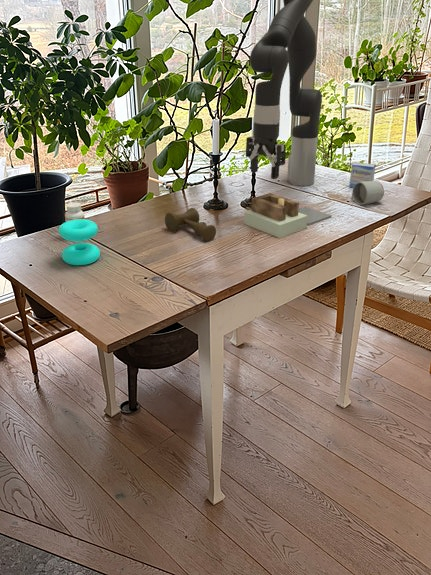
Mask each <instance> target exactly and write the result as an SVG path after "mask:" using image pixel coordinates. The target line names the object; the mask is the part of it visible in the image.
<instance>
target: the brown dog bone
mask: <svg viewBox="0 0 431 575" xmlns="http://www.w3.org/2000/svg"><path fill="white" fill-rule="evenodd" d="M164 224H165V226H166V228H167V230H168V231H170V232H171V233H175V232H177V231H178V229H179V228H180V227H181V226H184V225H187V226H188V227H189V228H190V229H192V230H193V233H194V235H195V236H196V237H201V239H202V241H203V242H206V243H207V242H211V241H213V240H214V238H215V237H216V235H217V228H216V227H215V225H213V224H208V225H207V223H206V222H204V221H200V214H199V212H198V210H197V209H196V208H194V207H190V208H188V209H187V210H186V211H185V212H184V213H180V214H177V213H174V212H169V211H168V212H166V213H165V217H164Z"/></svg>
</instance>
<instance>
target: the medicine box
mask: <svg viewBox="0 0 431 575" xmlns="http://www.w3.org/2000/svg"><path fill="white" fill-rule="evenodd" d="M375 173H376V164H375V163H364V162H356V161H354V162H353V163H352V164H351V169H350V177H349V186H348V187H349V188H350V189H353V187H354V185H355V184H356V183H357V182H363V181H375Z"/></svg>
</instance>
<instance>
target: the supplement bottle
mask: <svg viewBox="0 0 431 575" xmlns="http://www.w3.org/2000/svg"><path fill="white" fill-rule="evenodd" d="M64 214H65V215H64V217H65V222H67V221H70V220H76V219H85V212H84V211H83V210H82V205H81V203H80V202H70V203H67V204H66V212H64Z"/></svg>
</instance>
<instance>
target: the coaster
mask: <svg viewBox="0 0 431 575" xmlns="http://www.w3.org/2000/svg"><path fill="white" fill-rule="evenodd" d="M298 212H299V213H302V214H305V215H307V216H308V218H307V226H310V225H314V224H316V223H320V222H322V221H324V220H328V219H330V218H332V214H328V213H327V212H323V211H320V210H317V209H314V208H311V207H309V206H303V207H299V211H298Z"/></svg>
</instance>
